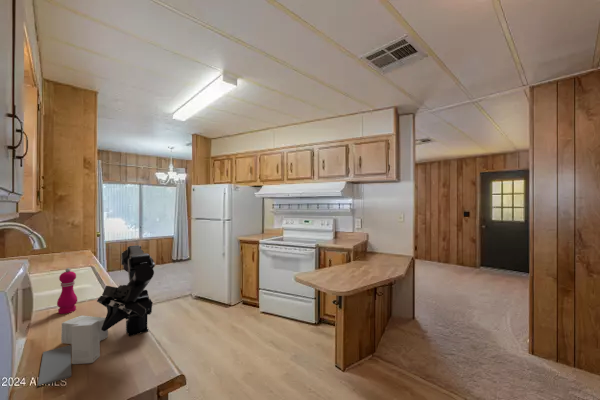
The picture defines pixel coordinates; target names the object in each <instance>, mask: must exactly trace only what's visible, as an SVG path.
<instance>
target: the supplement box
mask: <svg viewBox="0 0 600 400" xmlns="http://www.w3.org/2000/svg"><path fill="white" fill-rule="evenodd" d="M105 318H106V317H101V316H91V315H90V316H89V315H79V316H76V317H74V318H71V319H68V320H66V321H62V322H61V337H60V339H61V341H60V342H61V344H68V345H72V341H71V326H73V325H74V324H76V323H77V322H79V321H90V320H99V340H100V342H101V341H104V340H106V339H107V338H108V336H109V329H108V330H106V331H102V330H101V328H102V326H103V323H104V321H105Z"/></svg>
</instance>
